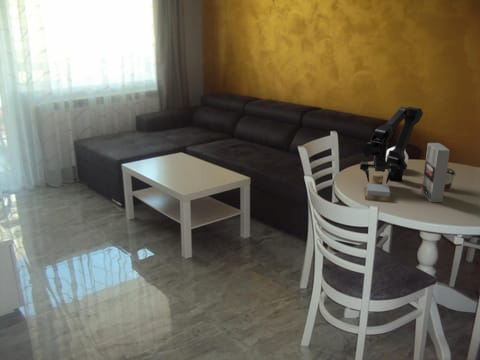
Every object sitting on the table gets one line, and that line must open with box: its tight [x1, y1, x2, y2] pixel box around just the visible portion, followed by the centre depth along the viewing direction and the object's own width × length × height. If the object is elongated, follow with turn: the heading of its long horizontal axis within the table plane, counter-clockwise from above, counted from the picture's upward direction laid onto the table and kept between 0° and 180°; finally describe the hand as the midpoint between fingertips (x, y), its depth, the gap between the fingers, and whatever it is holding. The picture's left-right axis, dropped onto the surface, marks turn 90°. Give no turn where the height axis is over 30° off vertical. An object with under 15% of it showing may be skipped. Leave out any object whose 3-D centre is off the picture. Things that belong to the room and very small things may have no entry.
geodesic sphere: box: [386, 146, 409, 165], centre depth 267 cm, size 14×14×14 cm
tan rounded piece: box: [371, 173, 384, 185], centre depth 244 cm, size 5×5×5 cm
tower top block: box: [366, 183, 391, 197], centre depth 228 cm, size 10×10×2 cm
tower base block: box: [363, 187, 393, 202], centre depth 229 cm, size 12×12×2 cm
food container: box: [444, 167, 456, 191], centre depth 240 cm, size 12×6×10 cm, turn 65°
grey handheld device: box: [419, 142, 451, 203], centre depth 224 cm, size 14×6×25 cm, turn 178°
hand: (377, 182), depth 244 cm, fingers open, 9 cm apart
